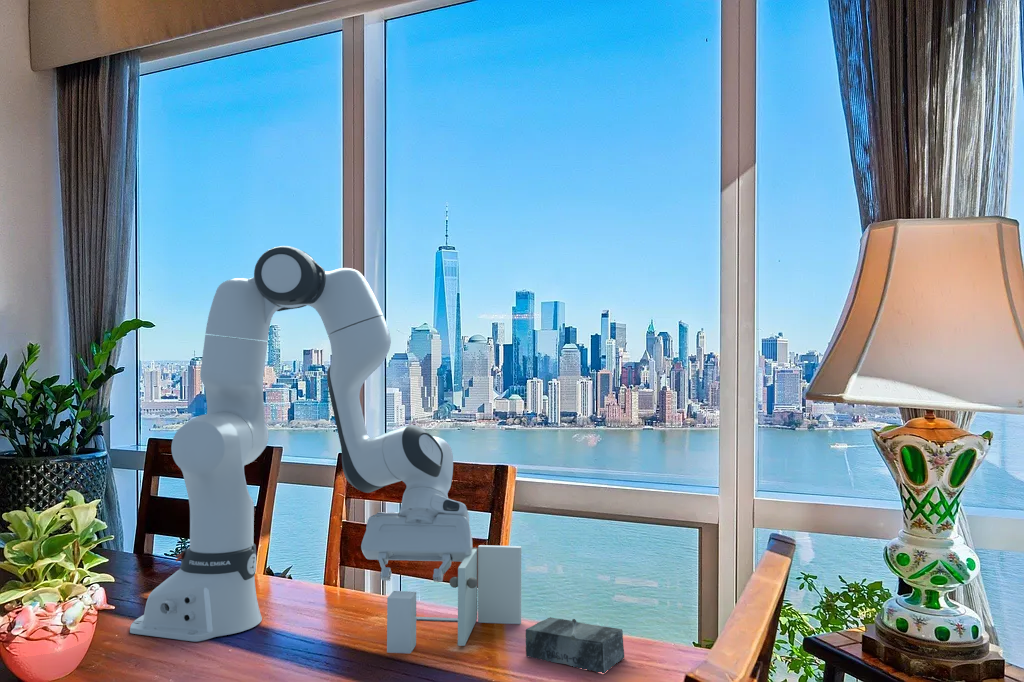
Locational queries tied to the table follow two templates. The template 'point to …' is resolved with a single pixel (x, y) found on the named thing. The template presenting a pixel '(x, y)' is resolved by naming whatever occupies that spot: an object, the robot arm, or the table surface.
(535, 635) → the stone block
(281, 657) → the table surface
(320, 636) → the table surface
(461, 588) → the door
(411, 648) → the light grey block
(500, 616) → the wall
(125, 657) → the table surface
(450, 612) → the table surface
